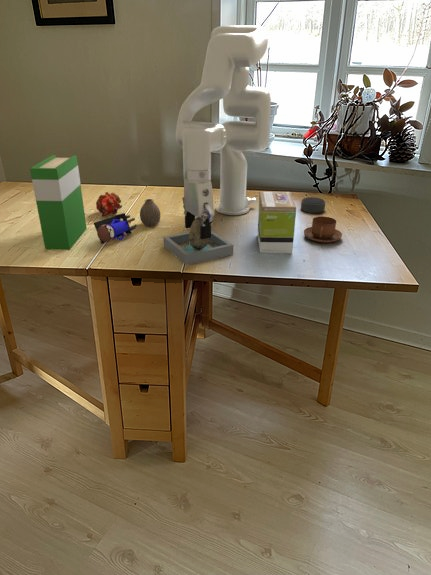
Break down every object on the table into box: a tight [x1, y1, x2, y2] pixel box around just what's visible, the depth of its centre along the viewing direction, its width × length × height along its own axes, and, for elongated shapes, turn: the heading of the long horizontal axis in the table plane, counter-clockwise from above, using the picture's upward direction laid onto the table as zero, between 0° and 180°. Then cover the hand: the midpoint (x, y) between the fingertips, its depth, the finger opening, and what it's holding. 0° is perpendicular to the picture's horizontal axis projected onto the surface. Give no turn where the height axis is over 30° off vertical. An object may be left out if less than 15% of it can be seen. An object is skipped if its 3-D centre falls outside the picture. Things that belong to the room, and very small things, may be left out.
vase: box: [139, 198, 161, 228], centre depth 148 cm, size 7×7×9 cm
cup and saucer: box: [303, 216, 343, 243], centre depth 140 cm, size 12×12×6 cm
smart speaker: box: [300, 196, 326, 214], centre depth 165 cm, size 9×9×4 cm
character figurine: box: [93, 212, 138, 245], centre depth 137 cm, size 8×7×15 cm
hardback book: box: [29, 154, 88, 251], centre depth 133 cm, size 18×7×24 cm, turn 178°
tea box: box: [257, 191, 297, 254], centre depth 133 cm, size 15×10×15 cm, turn 178°
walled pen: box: [163, 230, 234, 266], centre depth 131 cm, size 15×15×3 cm
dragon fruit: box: [95, 191, 123, 217], centre depth 158 cm, size 8×8×12 cm
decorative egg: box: [188, 217, 209, 250], centre depth 129 cm, size 6×6×10 cm
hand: (197, 232), depth 129 cm, fingers open, 9 cm apart
